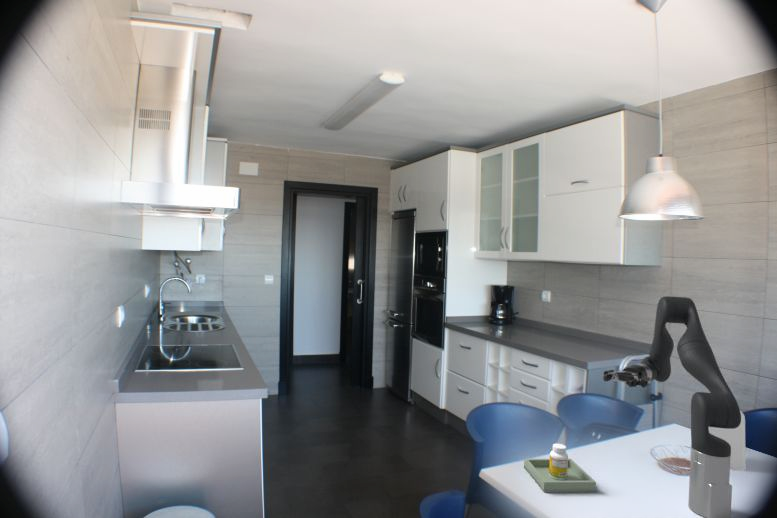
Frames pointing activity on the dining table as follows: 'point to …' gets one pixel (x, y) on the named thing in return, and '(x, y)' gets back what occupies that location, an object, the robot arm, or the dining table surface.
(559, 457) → the supplement bottle
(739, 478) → the dining table surface
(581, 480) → the tray
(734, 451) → the milk
